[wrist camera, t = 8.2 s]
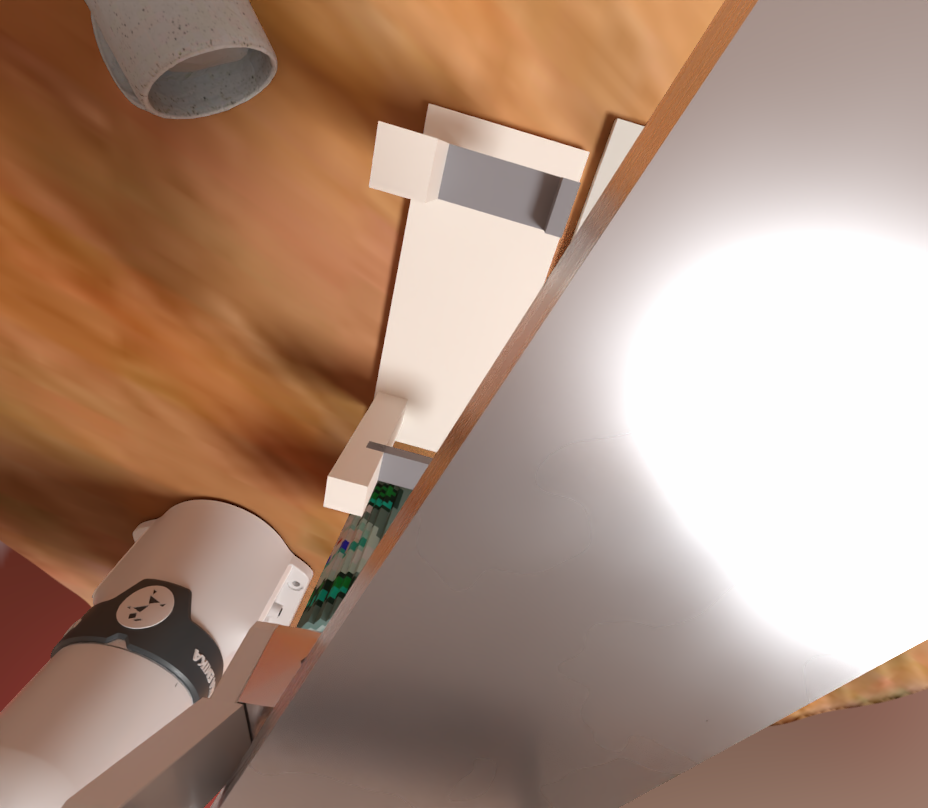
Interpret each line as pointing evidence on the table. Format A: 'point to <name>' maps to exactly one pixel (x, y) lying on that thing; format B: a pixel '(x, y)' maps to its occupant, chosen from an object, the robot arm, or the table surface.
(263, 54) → the ceramic mug
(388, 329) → the rack
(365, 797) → the rail
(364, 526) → the can
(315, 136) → the table surface
